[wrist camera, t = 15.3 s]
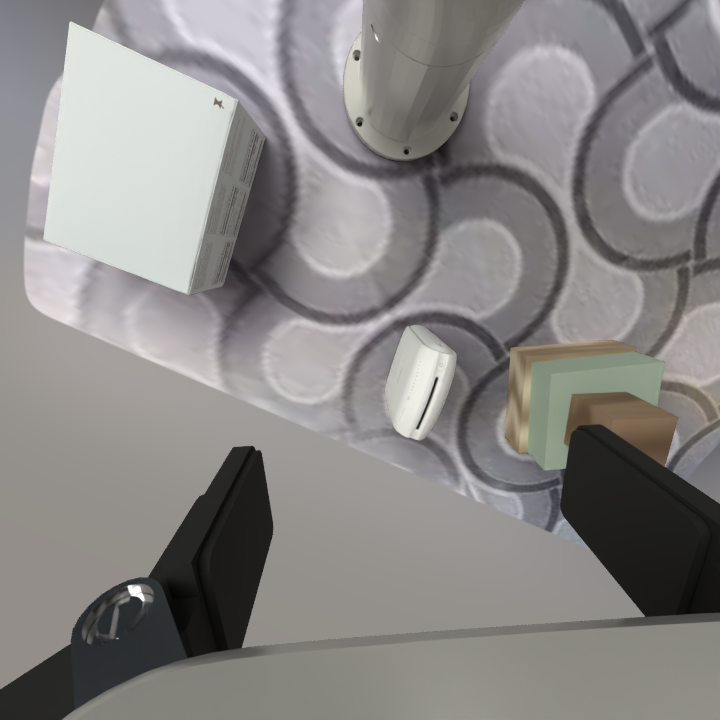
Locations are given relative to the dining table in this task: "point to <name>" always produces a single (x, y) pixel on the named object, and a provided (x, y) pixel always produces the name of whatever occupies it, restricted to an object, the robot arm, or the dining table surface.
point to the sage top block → (580, 377)
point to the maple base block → (522, 379)
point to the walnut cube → (625, 420)
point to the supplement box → (148, 167)
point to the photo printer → (419, 381)
